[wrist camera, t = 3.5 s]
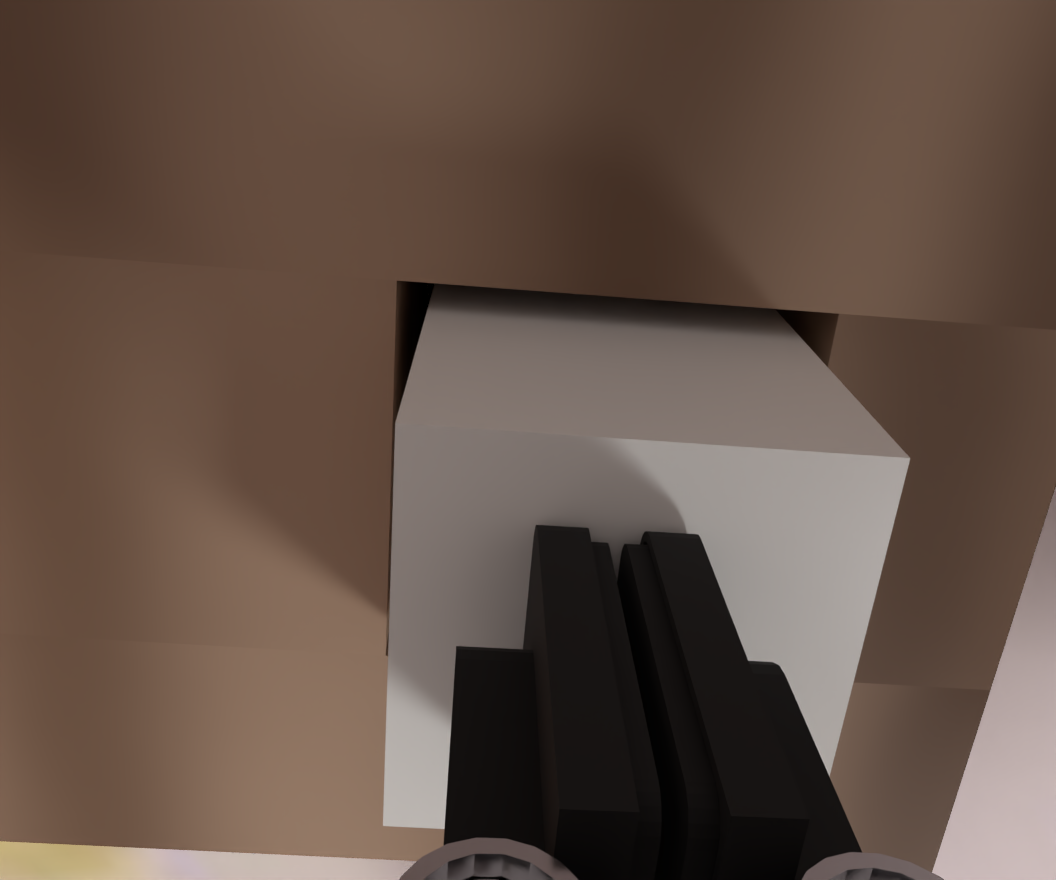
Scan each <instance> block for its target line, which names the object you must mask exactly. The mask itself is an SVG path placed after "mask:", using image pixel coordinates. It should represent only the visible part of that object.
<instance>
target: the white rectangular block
mask: <svg viewBox="0 0 1056 880" xmlns="http://www.w3.org/2000/svg"><path fill="white" fill-rule="evenodd" d="M909 462H910V457H909V456H908V455H907V454H906V453H905V452H904V451H903V450H902V449H901V447H900V446H899V445H898V444H897V443H896V442H895V441H894V440H893V439H892V438H891V436H890V435H889V434H888V433H887V432H886V431H885V430H884V429H883V428H882V427H881V425H880V424H879V423H878V422H877V421H876V420H875V419H874V418H873V417H872V415H871V414H870V413H869V412H868V411H867V410H866V409H865V408H864V407H863V406H862V404H861V403H860V402H859V401H858V400H857V399H856V398H855V397H854V396H853V395H852V393H851V392H850V391H849V390H848V389H847V388H846V387H845V386H844V385H843V384H842V382H841V381H840V380H839V379H838V378H837V377H836V376H835V375H834V374H833V373H832V371H831V370H830V369H829V368H828V367H827V366H826V365H825V364H824V363H823V362H822V360H821V359H820V358H819V357H818V356H817V355H816V354H815V353H814V352H813V351H812V349H811V348H810V347H809V346H808V345H807V344H806V343H805V342H804V341H803V340H802V338H801V337H800V336H799V335H798V334H797V333H796V332H795V331H794V330H793V329H792V327H791V326H790V325H789V324H788V323H787V322H786V321H785V320H784V319H783V318H782V316H781V315H780V314H779V313H778V312H777V311H776V310H775V309H770V308H757V307H744V306H730V305H717V304H704V303H690V302H677V301H664V300H650V299H637V298H624V297H610V296H597V295H584V294H570V293H557V292H544V291H530V290H517V289H504V288H490V287H477V286H464V285H450V284H437V283H435V285H434V288H433V292H432V295H431V299H430V302H429V306H428V309H427V313H426V316H425V320H424V323H423V327H422V330H421V334H420V338H419V341H418V345H417V348H416V352H415V355H414V359H413V362H412V366H411V369H410V373H409V376H408V380H407V383H406V387H405V390H404V394H403V398H402V401H401V405H400V408H399V412H398V415H397V419H396V422H395V448H394V480H393V513H392V546H391V578H390V611H389V643H388V676H387V708H386V741H385V774H384V806H383V826H393V827H413V828H433V829H445V813H446V798H447V782H448V767H449V751H450V736H451V720H452V705H453V689H454V674H455V658H456V646H466V647H486V648H506V649H523V643H524V632H525V622H526V611H527V601H528V590H529V579H530V569H531V558H532V548H533V538H534V531H535V526H536V525H548V526H565V527H582V528H589V532H590V537H591V542H605V543H608V544H609V547H610V552H611V557H612V561H613V566H614V571H615V576H616V580H618V572H619V565H620V558H621V552H622V548H623V546H624V544H640V542H641V539H642V536H643V534H644V532H645V531H651V532H669V533H686V534H698V535H699V536H700V538H701V540H702V543H703V545H704V548H705V550H706V553H707V556H708V558H709V561H710V563H711V566H712V568H713V571H714V574H715V576H716V579H717V581H718V584H719V587H720V589H721V592H722V594H723V597H724V599H725V602H726V605H727V607H728V610H729V612H730V615H731V617H732V620H733V623H734V625H735V628H736V630H737V633H738V636H739V638H740V641H741V643H742V646H743V648H744V651H745V654H746V656H747V659H748V661H763V662H774V663H776V664H778V665H779V666H780V667H781V669H782V671H783V672H784V674H785V676H786V678H787V680H788V683H789V685H790V687H791V689H792V692H793V694H794V696H795V699H796V701H797V703H798V706H799V708H800V710H801V712H802V715H803V717H804V719H805V722H806V724H807V726H808V729H809V731H810V733H811V735H812V738H813V740H814V742H815V745H816V747H817V749H818V752H819V754H820V756H821V758H822V761H823V763H824V765H825V768H826V770H827V772H828V775H829V777H830V773H831V769H832V765H833V761H834V757H835V753H836V749H837V745H838V741H839V737H840V733H841V729H842V725H843V722H844V718H845V714H846V710H847V706H848V702H849V698H850V694H851V690H852V686H853V682H854V678H855V674H856V670H857V666H858V662H859V659H860V655H861V651H862V647H863V643H864V639H865V635H866V631H867V627H868V623H869V619H870V615H871V611H872V607H873V603H874V599H875V596H876V592H877V588H878V584H879V580H880V576H881V572H882V568H883V564H884V560H885V556H886V552H887V548H888V544H889V540H890V536H891V533H892V529H893V525H894V521H895V517H896V513H897V509H898V505H899V501H900V497H901V493H902V489H903V485H904V481H905V477H906V473H907V470H908V466H909Z"/></svg>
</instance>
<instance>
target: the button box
mask: <svg viewBox="0 0 1056 880" xmlns="http://www.w3.org/2000/svg"><path fill="white" fill-rule="evenodd" d="M427 283H437V284H450V285H464V286H477V287H490V288H504V289H517V290H530V291H544V292H557V293H570V294H584V295H597V296H610V297H624V298H637V299H650V300H664V301H677V302H690V303H704V304H717V305H730V306H744V307H757V308H770V309H775V310H776V311H777V312H778V313H779V314H780V315H781V316H782V318H783V319H784V320H785V321H786V322H787V323H788V324H789V325H790V326H791V327H792V329H793V330H794V331H795V332H796V333H797V334H798V335H799V336H800V337H801V338H802V340H803V341H804V342H805V343H806V344H807V345H808V346H809V347H810V348H811V349H812V351H813V352H814V353H815V354H816V355H817V356H818V357H819V358H820V359H821V360H822V362H823V363H824V364H825V365H826V366H827V367H828V368H829V369H830V370H831V371H832V373H833V374H834V375H835V376H836V377H837V378H838V379H839V380H840V381H841V382H842V384H843V385H844V386H845V387H846V388H847V389H848V390H849V391H850V392H851V393H852V395H853V396H854V397H855V398H856V399H857V400H858V401H859V402H860V403H861V404H862V406H863V407H864V408H865V409H866V410H867V411H868V412H869V413H870V414H871V415H872V417H873V418H874V419H875V420H876V421H877V422H878V423H879V424H880V425H881V427H882V428H883V429H884V430H885V431H886V432H887V433H888V434H889V435H890V436H891V438H892V439H893V440H894V441H895V442H896V443H897V444H898V445H899V446H900V447H901V449H902V450H903V451H904V452H905V453H906V454H907V455H908V456H909V457H910V462H909V466H908V470H907V473H906V477H905V481H904V485H903V489H902V493H901V497H900V501H899V505H898V509H897V513H896V517H895V521H894V525H893V529H892V533H891V536H890V540H889V544H888V548H887V552H886V556H885V560H884V564H883V568H882V572H881V576H880V580H879V584H878V588H877V592H876V596H875V599H874V603H873V607H872V611H871V615H870V619H869V623H868V627H867V631H866V635H865V639H864V643H863V647H862V651H861V655H860V659H859V662H858V666H857V670H856V674H855V678H854V682H853V686H852V690H851V694H850V698H849V702H848V706H847V710H846V714H845V718H844V722H843V725H842V729H841V733H840V737H839V741H838V745H837V749H836V753H835V757H834V761H833V765H832V769H831V773H830V779H831V781H832V784H833V786H834V788H835V791H836V793H837V795H838V798H839V800H840V802H841V804H842V807H843V809H844V811H845V814H846V816H847V818H848V821H849V823H850V825H851V827H852V830H853V832H854V834H855V837H856V839H857V841H858V844H859V846H860V848H861V850H862V853H879V854H883V855H887V856H890V857H894V858H898V859H901V860H905V861H909V862H911V863H913V864H915V865H917V866H919V867H921V868H923V869H925V870H927V871H929V872H931V873H932V870H933V867H934V864H935V861H936V858H937V855H938V852H939V848H940V845H941V842H942V839H943V836H944V833H945V830H946V827H947V823H948V820H949V817H950V814H951V811H952V808H953V805H954V802H955V799H956V795H957V792H958V789H959V786H960V783H961V780H962V777H963V774H964V770H965V767H966V764H967V761H968V758H969V755H970V752H971V749H972V745H973V742H974V739H975V736H976V733H977V730H978V727H979V724H980V721H981V717H982V714H983V711H984V708H985V705H986V702H987V699H988V696H989V692H990V689H991V686H992V683H993V680H994V677H995V674H996V671H997V668H998V664H999V661H1000V658H1001V655H1002V652H1003V649H1004V646H1005V643H1006V639H1007V636H1008V633H1009V630H1010V627H1011V624H1012V621H1013V618H1014V615H1015V611H1016V608H1017V605H1018V602H1019V599H1020V596H1021V593H1022V590H1023V586H1024V583H1025V580H1026V577H1027V574H1028V571H1029V568H1030V565H1031V561H1032V558H1033V555H1034V552H1035V549H1036V546H1037V543H1038V540H1039V537H1040V533H1041V530H1042V527H1043V524H1044V521H1045V518H1046V515H1047V512H1048V508H1049V505H1050V502H1051V499H1052V496H1053V493H1054V490H1055V487H1056V0H0V841H9V842H30V843H51V844H72V845H93V846H114V847H135V848H156V849H177V850H198V851H219V852H240V853H261V854H282V855H303V856H324V857H345V858H365V859H386V860H407V861H418V860H419V859H420V858H421V857H422V856H424V855H426V854H428V853H430V852H432V851H434V850H436V849H438V848H440V847H442V846H443V845H444V829H433V828H413V827H393V826H383V806H384V774H385V741H386V708H387V676H388V643H389V611H390V578H391V546H392V513H393V480H394V448H395V422H396V419H397V415H398V412H399V408H400V405H401V401H402V398H403V394H404V390H405V387H406V383H407V380H408V376H409V373H410V369H411V366H412V362H413V359H414V355H415V352H416V348H417V345H418V341H419V338H420V334H421V330H422V327H423V323H424V320H425V316H426V306H427Z"/></svg>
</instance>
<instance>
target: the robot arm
mask: <svg viewBox="0 0 1056 880" xmlns="http://www.w3.org/2000/svg"><path fill="white" fill-rule="evenodd" d="M399 880H944V879H943V878H941V877H940V876H938V875H936V874H934V873H931V872H929V871H927V870H925V869H923V868H921V867H919V866H917V865H915V864H913V863H911V862H909V861H905V860H901V859H898V858H894V857H890V856H887V855H883V854H879V853H862V850H861V848H860V846H859V844H858V841H857V839H856V837H855V834H854V832H853V830H852V827H851V825H850V823H849V821H848V818H847V816H846V814H845V811H844V809H843V807H842V804H841V802H840V800H839V798H838V795H837V793H836V791H835V788H834V786H833V784H832V781H831V779H830V777H829V775H828V772H827V770H826V768H825V765H824V763H823V761H822V758H821V756H820V754H819V752H818V749H817V747H816V745H815V742H814V740H813V738H812V735H811V733H810V731H809V729H808V726H807V724H806V722H805V719H804V717H803V715H802V712H801V710H800V708H799V706H798V703H797V701H796V699H795V696H794V694H793V692H792V689H791V687H790V685H789V683H788V680H787V678H786V676H785V674H784V672H783V671H782V669H781V667H780V666H779V665H778V664H776V663H774V662H763V661H748V659H747V656H746V654H745V651H744V648H743V646H742V643H741V641H740V638H739V636H738V633H737V630H736V628H735V625H734V623H733V620H732V617H731V615H730V612H729V610H728V607H727V605H726V602H725V599H724V597H723V594H722V592H721V589H720V587H719V584H718V581H717V579H716V576H715V574H714V571H713V568H712V566H711V563H710V561H709V558H708V556H707V553H706V550H705V548H704V545H703V543H702V540H701V538H700V536H699V535H698V534H686V533H669V532H651V531H645V532H644V534H643V536H642V539H641V542H640V544H624V546H623V548H622V552H621V558H620V565H619V572H618V580H616V576H615V571H614V566H613V561H612V557H611V552H610V547H609V544H608V543H605V542H591V537H590V532H589V528H582V527H565V526H548V525H536V526H535V531H534V538H533V548H532V558H531V569H530V579H529V590H528V601H527V611H526V622H525V632H524V643H523V649H506V648H486V647H466V646H456V658H455V674H454V689H453V705H452V720H451V736H450V751H449V767H448V782H447V798H446V813H445V829H444V845H443V846H442V847H440V848H438V849H436V850H434V851H432V852H430V853H428V854H426V855H424V856H422V857H421V858H420V859H419V860H418V861H417V862H416V863H415V864H414V865H413V866H412V867H410V868H409V869H408V870H407V871H406V872H405V873H404V874H403V875H402V876H401V878H400V879H399Z"/></svg>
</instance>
